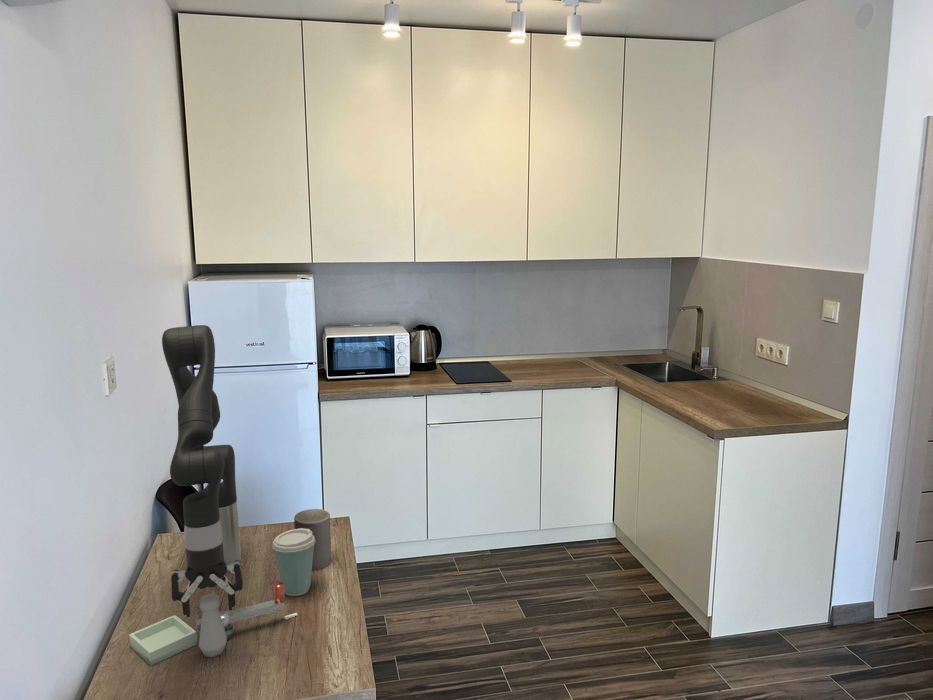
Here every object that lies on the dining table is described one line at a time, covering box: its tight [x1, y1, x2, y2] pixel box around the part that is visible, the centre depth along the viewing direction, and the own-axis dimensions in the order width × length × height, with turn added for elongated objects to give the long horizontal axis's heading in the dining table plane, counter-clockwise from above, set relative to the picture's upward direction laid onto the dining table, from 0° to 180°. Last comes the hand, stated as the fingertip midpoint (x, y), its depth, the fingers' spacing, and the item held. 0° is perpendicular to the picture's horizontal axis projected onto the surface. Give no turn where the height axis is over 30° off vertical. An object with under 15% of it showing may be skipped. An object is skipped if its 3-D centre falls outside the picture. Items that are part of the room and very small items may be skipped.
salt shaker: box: [198, 593, 228, 658], centre depth 152 cm, size 6×6×13 cm
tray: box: [128, 614, 199, 667], centre depth 156 cm, size 10×10×3 cm
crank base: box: [225, 623, 235, 642], centre depth 159 cm, size 4×4×2 cm
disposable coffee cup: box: [271, 528, 315, 597], centre depth 178 cm, size 11×11×15 cm
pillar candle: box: [293, 508, 332, 571], centre depth 193 cm, size 10×10×15 cm
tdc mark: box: [283, 612, 299, 620], centre depth 167 cm, size 3×1×1 cm, turn 120°
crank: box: [195, 581, 286, 633], centre depth 160 cm, size 20×4×7 cm, turn 118°
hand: (209, 612), depth 152 cm, fingers open, 8 cm apart
